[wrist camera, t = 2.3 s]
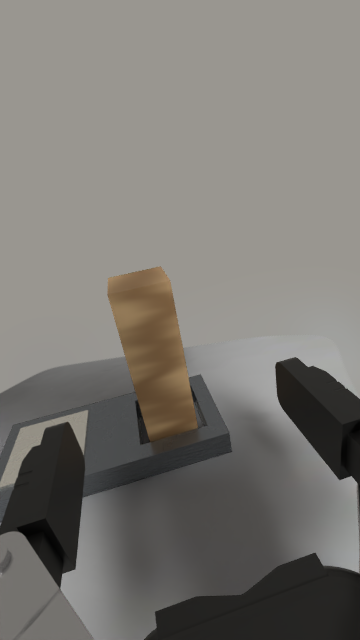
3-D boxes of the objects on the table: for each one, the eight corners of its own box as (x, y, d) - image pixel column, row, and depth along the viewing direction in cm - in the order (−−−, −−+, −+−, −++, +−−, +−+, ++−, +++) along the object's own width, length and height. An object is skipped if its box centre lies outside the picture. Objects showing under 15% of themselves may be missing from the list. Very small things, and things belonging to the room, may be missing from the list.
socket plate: (-9, 525, 21) (-23, 505, 20) (21, 440, 29) (12, 423, 28) (231, 451, 24) (228, 430, 23) (203, 390, 31) (200, 372, 30)
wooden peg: (153, 454, 25) (107, 294, 19) (147, 420, 28) (108, 277, 22) (200, 440, 25) (170, 280, 19) (189, 408, 29) (160, 266, 23)
